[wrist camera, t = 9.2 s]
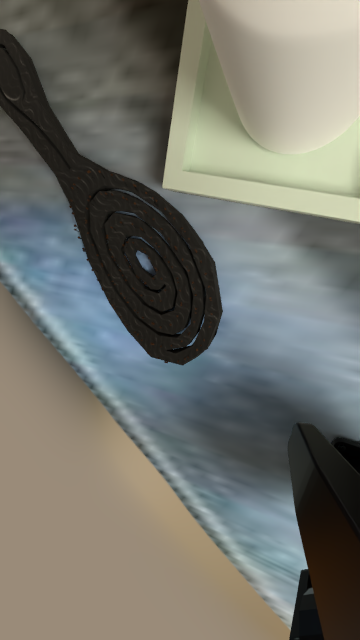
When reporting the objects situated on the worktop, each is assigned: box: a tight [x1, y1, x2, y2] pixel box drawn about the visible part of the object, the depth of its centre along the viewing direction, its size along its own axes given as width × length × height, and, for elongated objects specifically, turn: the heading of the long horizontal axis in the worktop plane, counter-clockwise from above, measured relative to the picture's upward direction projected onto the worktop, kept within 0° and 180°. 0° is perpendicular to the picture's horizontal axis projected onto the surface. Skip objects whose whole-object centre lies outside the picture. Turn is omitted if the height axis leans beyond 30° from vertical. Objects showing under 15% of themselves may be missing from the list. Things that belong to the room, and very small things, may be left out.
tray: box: [162, 0, 360, 224], centre depth 14 cm, size 12×12×2 cm
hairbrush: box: [0, 29, 223, 365], centre depth 19 cm, size 8×4×25 cm
